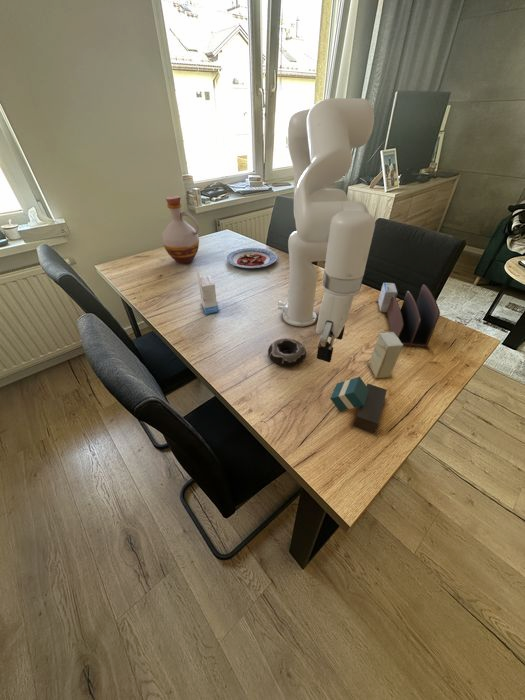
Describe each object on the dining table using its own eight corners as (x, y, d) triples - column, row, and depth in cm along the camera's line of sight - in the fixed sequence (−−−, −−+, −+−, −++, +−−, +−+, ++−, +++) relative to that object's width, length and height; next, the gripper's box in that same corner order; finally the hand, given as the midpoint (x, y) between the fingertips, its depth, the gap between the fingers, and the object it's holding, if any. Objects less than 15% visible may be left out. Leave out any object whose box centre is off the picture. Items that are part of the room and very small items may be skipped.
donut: (269, 344, 95) (269, 334, 93) (305, 346, 94) (306, 336, 92) (266, 368, 86) (266, 358, 84) (305, 371, 85) (306, 361, 83)
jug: (210, 255, 155) (202, 193, 135) (196, 269, 141) (186, 202, 122) (176, 252, 158) (164, 191, 139) (160, 265, 145) (144, 200, 126)
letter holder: (413, 315, 108) (427, 281, 99) (426, 348, 93) (443, 311, 84) (385, 313, 110) (396, 278, 101) (394, 344, 95) (408, 307, 86)
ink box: (218, 312, 111) (214, 276, 101) (205, 314, 109) (200, 278, 100) (213, 301, 117) (209, 267, 107) (201, 304, 116) (196, 269, 106)
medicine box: (391, 313, 109) (398, 292, 104) (379, 312, 110) (385, 291, 105) (389, 302, 115) (395, 283, 110) (377, 301, 116) (383, 282, 111)
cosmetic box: (368, 364, 87) (378, 331, 80) (382, 363, 88) (393, 331, 80) (376, 378, 83) (387, 346, 75) (391, 377, 83) (404, 345, 75)
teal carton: (328, 406, 75) (333, 385, 70) (334, 391, 79) (340, 370, 74) (359, 418, 72) (366, 397, 67) (364, 401, 76) (372, 380, 71)
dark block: (353, 426, 70) (356, 415, 68) (364, 393, 78) (367, 383, 76) (374, 434, 68) (378, 424, 66) (383, 399, 77) (387, 389, 74)
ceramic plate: (277, 271, 139) (277, 265, 137) (224, 271, 139) (223, 265, 137) (276, 251, 158) (276, 246, 156) (229, 251, 159) (229, 246, 157)
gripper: (336, 261, 64) (325, 325, 75) (308, 295, 52) (301, 365, 63) (370, 267, 61) (354, 333, 72) (350, 304, 49) (334, 376, 60)
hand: (329, 348), depth 68 cm, fingers open, 8 cm apart
